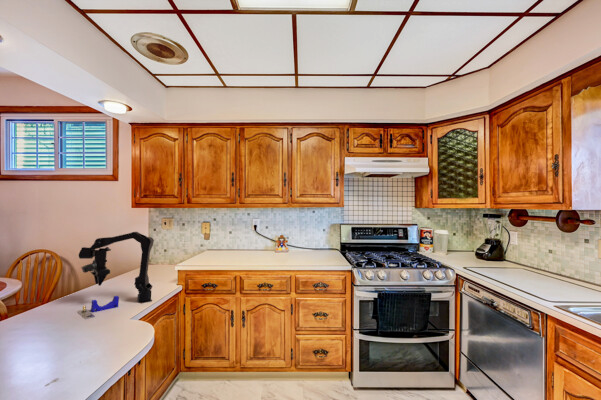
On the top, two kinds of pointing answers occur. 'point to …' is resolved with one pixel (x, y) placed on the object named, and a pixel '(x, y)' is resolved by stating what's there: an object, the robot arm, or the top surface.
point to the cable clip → (110, 305)
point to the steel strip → (85, 313)
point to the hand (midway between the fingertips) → (98, 284)
